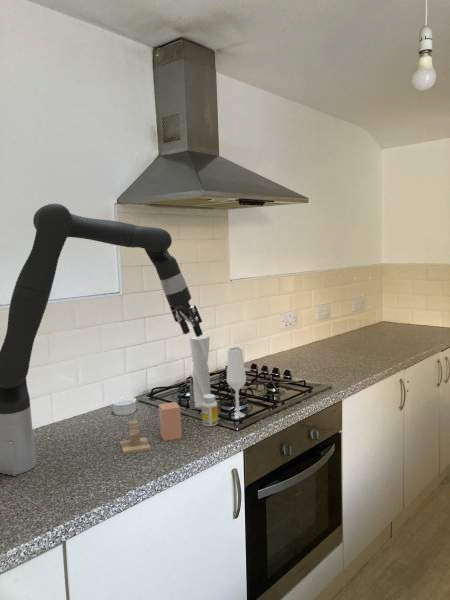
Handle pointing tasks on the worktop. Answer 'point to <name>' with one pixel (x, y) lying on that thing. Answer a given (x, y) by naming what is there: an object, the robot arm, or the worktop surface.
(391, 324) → the worktop surface
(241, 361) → the champagne flute
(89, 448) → the worktop surface
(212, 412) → the supplement bottle
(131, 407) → the ramekin
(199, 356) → the skyscraper
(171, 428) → the brown upright block
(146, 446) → the post
